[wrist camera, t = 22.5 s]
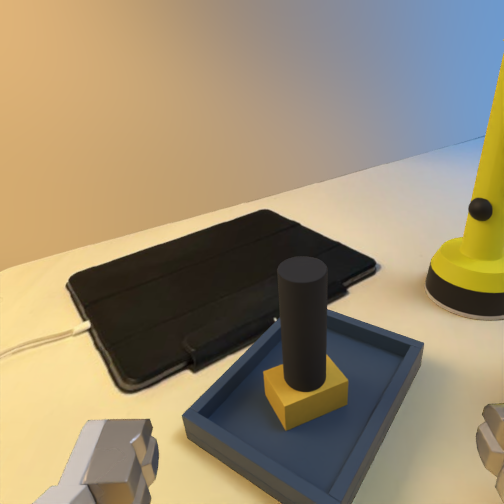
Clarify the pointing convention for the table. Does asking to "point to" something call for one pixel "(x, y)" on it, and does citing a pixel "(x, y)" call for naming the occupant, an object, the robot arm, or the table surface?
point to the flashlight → (477, 236)
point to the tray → (314, 431)
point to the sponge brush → (304, 347)
